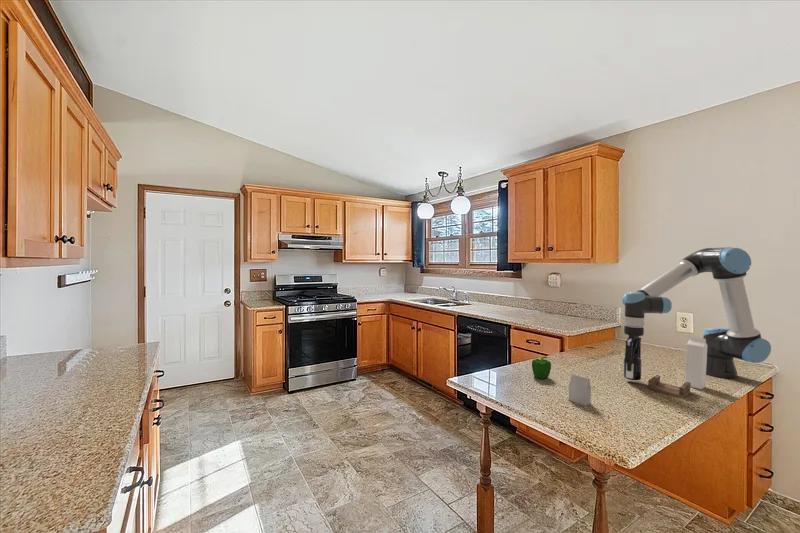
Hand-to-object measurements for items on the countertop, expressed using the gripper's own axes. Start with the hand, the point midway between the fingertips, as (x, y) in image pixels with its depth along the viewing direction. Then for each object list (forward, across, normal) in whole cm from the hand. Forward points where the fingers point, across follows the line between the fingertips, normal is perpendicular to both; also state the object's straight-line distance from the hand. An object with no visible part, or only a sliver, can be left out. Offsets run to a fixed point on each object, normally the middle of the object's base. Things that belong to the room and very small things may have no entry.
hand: (632, 376), depth 167 cm
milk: (+3, -18, +20) cm, 27 cm away
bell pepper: (+3, +28, -29) cm, 41 cm away
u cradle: (+3, -1, +14) cm, 14 cm away
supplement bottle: (+1, 0, 0) cm, 1 cm away
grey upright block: (+3, +44, -5) cm, 45 cm away
